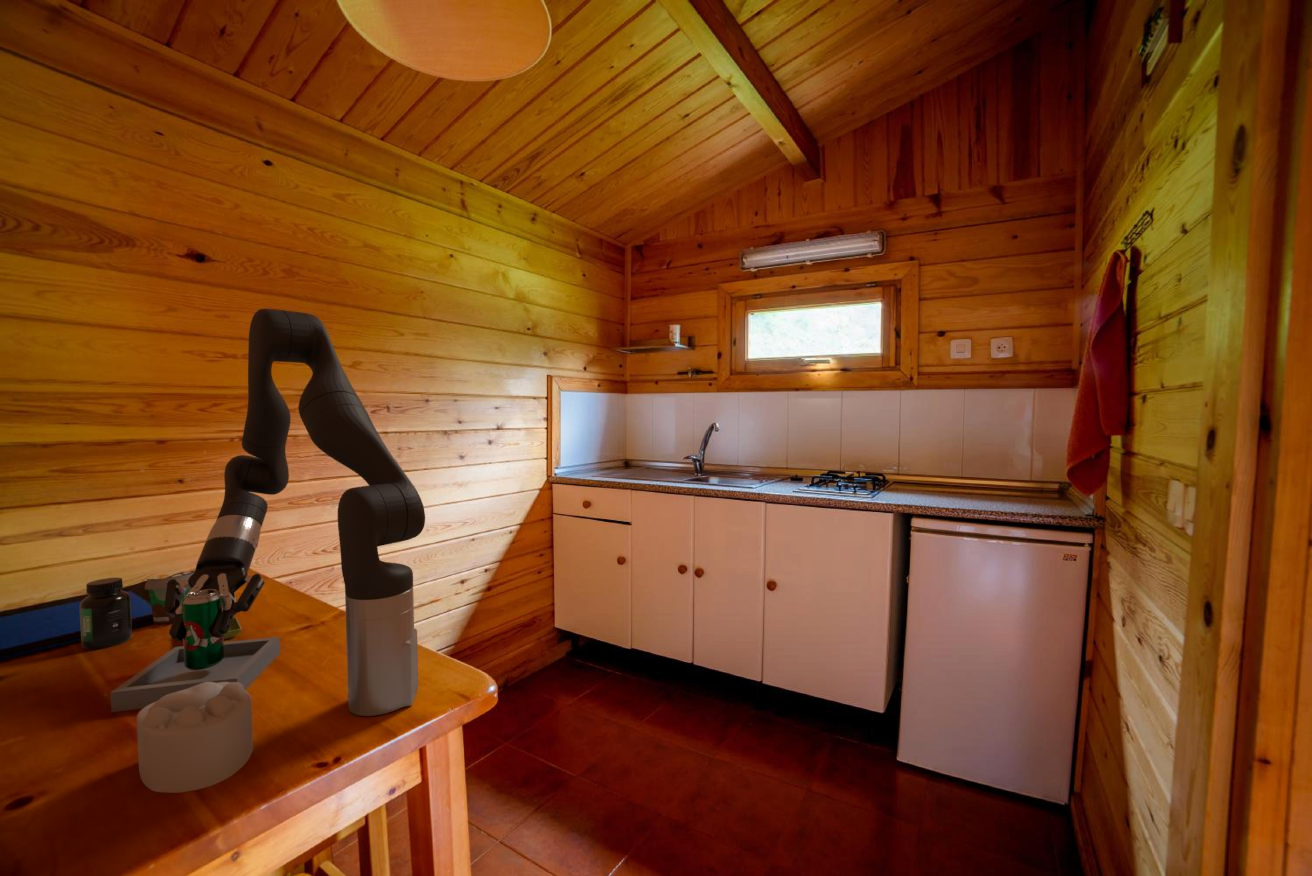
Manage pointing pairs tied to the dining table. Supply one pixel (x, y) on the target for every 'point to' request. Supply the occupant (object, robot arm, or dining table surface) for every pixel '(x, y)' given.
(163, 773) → the lumpy-topped squat cylinder
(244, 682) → the tray
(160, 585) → the food container
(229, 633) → the green square dish
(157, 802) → the dining table surface
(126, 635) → the supplement bottle
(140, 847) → the dining table surface
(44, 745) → the dining table surface
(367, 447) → the robot arm
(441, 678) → the dining table surface
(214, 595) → the soda can
